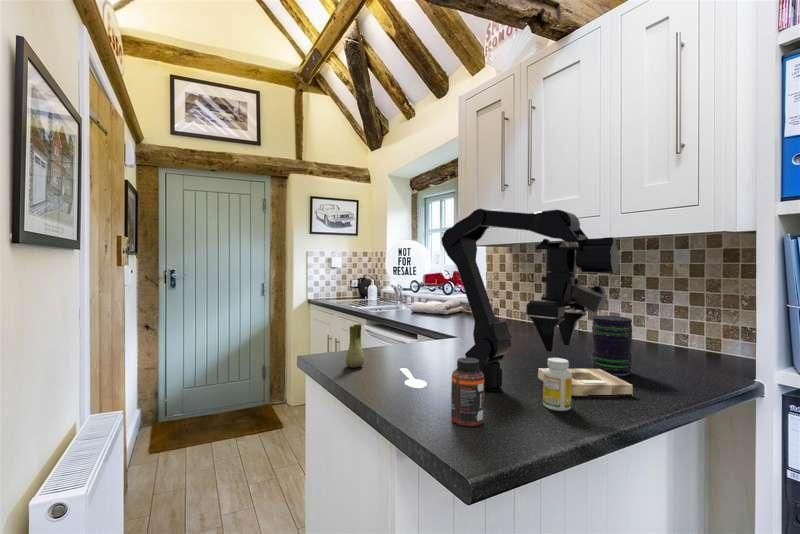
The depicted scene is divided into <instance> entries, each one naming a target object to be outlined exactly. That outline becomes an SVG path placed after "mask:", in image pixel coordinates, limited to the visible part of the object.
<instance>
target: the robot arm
mask: <svg viewBox="0 0 800 534" xmlns="http://www.w3.org/2000/svg"><path fill="white" fill-rule="evenodd" d="M490 227H491V228H493V227H494V228H500V229H501V228H502V229H511V230H512V229H513V230H517V231H519V230H521V231H528V232H533V233H535V234H538V235H541V236H543V237H547V238H550V239H551V238H552V239H557V240H562V241H559V242H558V241H557V242H556V241H555V242H554V241H552V242H551V240H550V239H547V238H543V239H542V241H541V242H540V243H538V245H536V246H535V250H536V251H545V275H544V276H541V282H542V283H544V296H541V297H540V299H535V300H534V299H533V300H530V301H529V302H527V304H526V307H525V309H526V311H525V313H526V316H529V319H530V320H531V321H532V323H533V325H534V327H535V329H536V330H537V333H538V335H539V337H540V339H541V342H542V344H543V347H544V348H545V350H546V352H550V353H553V352H554V348H555V343H556V342H555V341H556V335H557V330H558V329H559V334H560V336H561V339H562V343H563V345H564V346H567V347H569V346H570V345H571V342H572V340H573V336H574V333H575V329H576V326H577V325H578V324H577V323H578V321H579V320H580V319H582V318H583V317H585V316H586V315H587V312H590V311H591V312H595V313H597V312H598V311H599V312H601V311H602V310H603V307H604V305H605V304H606V303H607V302H608V295H607V294H606V291H605V287H603V286H599V285H593V287H591V288H590V287H586V286H583V285H581V279H580V278H579V277H576V268H578V269H579V268H580V270H581V272H582V273H584V274H614V275H615V274H616V273H617V272H618V271H619V270H618V269H619V266H620V255H619V250H618V246H617V243H616V242H617V240H616V239H617V238H616V237H612V236H611V237H603V238H589V237H588V236H587V235H586V234H585V233H584V231H583V230H582V229H581V223H580V220H579V218H578V217H577V215H576V214H574V213H571V212H568V211H565V210H562V209H549V210H542V211H541V210H540V211H537V212H529V213H528V212H527V213H525V212H517V211H516V212H515V211H514V212H513V211H502V210H501V211H500V210H490V209H489V210H488V209H485V208H477V209H475V210H473V212H471V213H470V214H469V215H468V216H466V217H465V218H463V219H461V220H459V221H458V222H456V223H455V224H454V225H453V226H452V227H450V228H447V229H446V230H445V231H444V233H443V234H442V237H441V241H440V242H441V244H442V247H443V249H444V251H445V254H446V255H447V257H448V258H449V259H450V260H451V261H452V262H453V264H455V266H456V267H457V271H458V274H459V277H460V280H461V284H462V287H463V291H464V293H465V296H466V299H467V302H468V305H469V309H470V311H471V314H472V317H473V320H474V325H473V333H472V336H473V342H474V345H472V347H470V349H469V350H467V351H466V352H465V354H464V357H465V358H475V359H478V360H479V369H480V371H481V372H482V373H483V374H484V393H485V392H490V393H491V392H492V393H493V392H495V393H496V392H497V393H498V392H501V393H502V392H503V388H502V387H503V369H502V368H501V362H499V361H503V360H504V357H505V354H507V353H508V352H509V351H510V349H511V347H512V339H513V336H512V334H511V333H510V331H509V326H508V323H507V321H506V320H503V321H500V320H499V319H498V317H496V316H495V313H494V310H493V308H492V304H491V302H490V298H489V295H488V293H487V290H486V286H485V284H484V281H483V278H482V275H481V272H480V269H479V266H478V263H477V253H478V247H477V245H478V244H477V242H478V241H480V240H481V239H482V238H483V236H484V235H485V233H486V231H487V229H489V228H490ZM563 241H564V242H563ZM567 243H569V244H575V245H577V246H568V244H567ZM581 311H582V312H581Z"/></svg>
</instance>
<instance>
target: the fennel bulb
mask: <svg viewBox="0 0 800 534" xmlns="http://www.w3.org/2000/svg"><path fill="white" fill-rule="evenodd" d="M347 350H348V351H347V353H346V357H345V365H346V366H347V367H348V368H351V369H355V368H360V367H362V366H363V365H364V362H365V355H364V351H363V346H362V323H356V324H353V325H350V326H349V346H348V349H347Z"/></svg>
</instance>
